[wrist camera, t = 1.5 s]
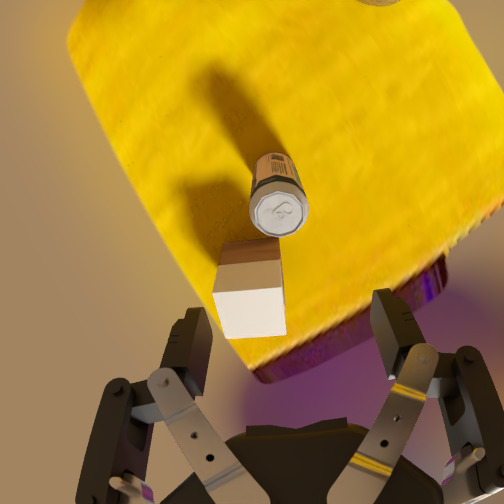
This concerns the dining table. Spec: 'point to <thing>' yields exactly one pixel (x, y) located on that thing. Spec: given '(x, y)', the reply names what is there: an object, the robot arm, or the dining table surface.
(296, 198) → the beer can
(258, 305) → the tower top
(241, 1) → the dining table surface
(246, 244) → the tower base
